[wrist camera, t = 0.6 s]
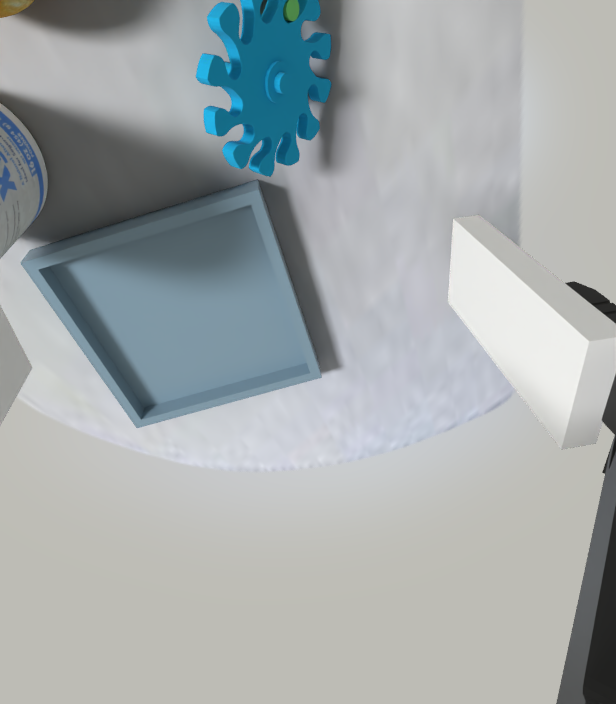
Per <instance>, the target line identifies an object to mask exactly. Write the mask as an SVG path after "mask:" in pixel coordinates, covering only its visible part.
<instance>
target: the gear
mask: <svg viewBox="0 0 616 704" xmlns="http://www.w3.org/2000/svg"><path fill="white" fill-rule="evenodd" d="M240 2H241V6H242V14H243V24H242V34H241V38H239V22H240V17H239V12H238V9H237V7H236V6H235V4H234V3H225V2H220V3H218V4H217V5H216V6H215V7H214V8H213V9H212V10H211V12H210V13H209V15H208V16H207V20H208V24H209V26H210V28H211V30H212V31H213V32H215V33H216V34H217V35H218V36H219V37H220V38H221V40H222V41H223V43H224V45H225V47H226V50H227V53H228V56H229V60H230V63H228V62H224V61H223V59H222V58H221V57H219V56H216V55H211V54H202V56H201V58H200V60H199V64H198V68H197V74H196V78H197V80H198V81H199V82H200V83H202V84H206V85H211V86H216V87H217V86H220V87H222V88H223V89H224V90H225V91H226V92H227V93H228V94H229V95H230V97H231V100H232V106H231V109H230V111H229V112H228V111H226V110H225V109H222V108H218V107H214V106H208V107H206V108H205V109H204V124H205V129H206V132H207V133H210V134H213V135H217V136H224V135H225V134H227V132H228V131H229V130H230V129H231V128H233V127H234V126H236V125H239V124H243V127H244V134H243V137H242V138H241V140H239V141H229V142H227V143H226V144H225V146H224V147H223V150H222V151H223V154H224V157H225V159H226V160H227V162H228V163H229V164H230V165H231V166H233V167H236V168H239V169H242V168H244V167H245V166H246V165H247V163H248V160H249V157H250V155H251V152H252V151H253V149H254V147H255V146H256V145H257V144H258V143H259V142H260V141H261V140H262V146H261V149H260V150H259V151H258V152H257V153H256V154H254V155H253V156H252V158H251V160H250V163H249V168H250V169H251V170H252V171H253V172H256V173H259V174H262V175H265V176H269V177H271V175H272V174H273V171H274V160H275V153H276V161H277V163H281V164H284V165H293V164H295V163H296V162H298V161H299V150H298V147H297V143H296V128H297V135H298V137H299V138H302V139H306V140H312V139H313V138H314V137H315V135H316V134H317V132H318V131H319V129H320V125H319V121H318V120H317V119H316V118H315V117H314V116H313V115H312V113H311V111H310V107H309V103H308V93H309V97H310V99H311V100H314V101H318V102H323V103H325V102H326V100H327V98H328V95H329V92H330V88H331V82H330V80H329V79H325V78H319V77H316V76H315V74H314V73H313V72H312V70H311V68H310V66H309V58H310V55H311V57H313V58H317V59H323V60H327V59H328V58H329V57H330V52H331V35H330V34H326V33H318V32H315V33H313V34H312V35H311V37H310V38H308V39H307V40H305V41H304V40H303V39H302V37H301V26H302V23H303V22H304V21H305V20H308V21H316V20H317V19H318V18H319V16H320V13H321V11H320V5H319V1H318V0H240ZM281 137H282V138H281ZM280 139H281V142H280V145H279V147H278V149H277V146H278V144H279V141H280ZM276 149H277V151H276Z"/></svg>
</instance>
